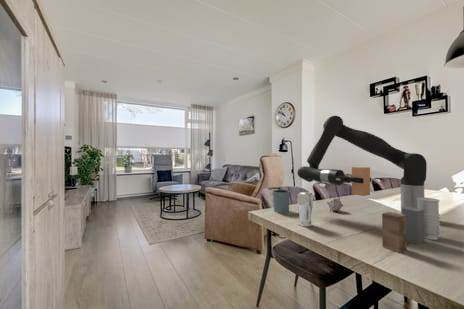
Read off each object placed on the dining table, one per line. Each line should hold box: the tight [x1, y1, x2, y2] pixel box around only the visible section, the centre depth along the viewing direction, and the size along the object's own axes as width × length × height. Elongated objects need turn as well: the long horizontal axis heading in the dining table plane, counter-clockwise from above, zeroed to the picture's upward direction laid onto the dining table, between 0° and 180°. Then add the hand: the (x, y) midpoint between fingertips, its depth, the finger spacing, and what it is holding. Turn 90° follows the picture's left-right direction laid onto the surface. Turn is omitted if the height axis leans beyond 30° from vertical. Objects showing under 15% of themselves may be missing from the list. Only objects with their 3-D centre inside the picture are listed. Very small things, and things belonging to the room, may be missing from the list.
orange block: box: [351, 166, 371, 197], centre depth 93 cm, size 5×5×12 cm
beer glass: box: [296, 191, 314, 228], centre depth 100 cm, size 7×7×15 cm
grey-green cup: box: [272, 189, 291, 214], centre depth 124 cm, size 10×10×12 cm
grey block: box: [402, 207, 425, 245], centre depth 81 cm, size 5×5×12 cm
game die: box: [326, 196, 344, 213], centre depth 123 cm, size 9×8×10 cm
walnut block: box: [381, 211, 407, 254], centre depth 74 cm, size 5×5×12 cm
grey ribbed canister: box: [417, 197, 441, 241], centre depth 84 cm, size 7×7×15 cm
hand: (366, 180), depth 91 cm, fingers closed on orange block, 5 cm apart
